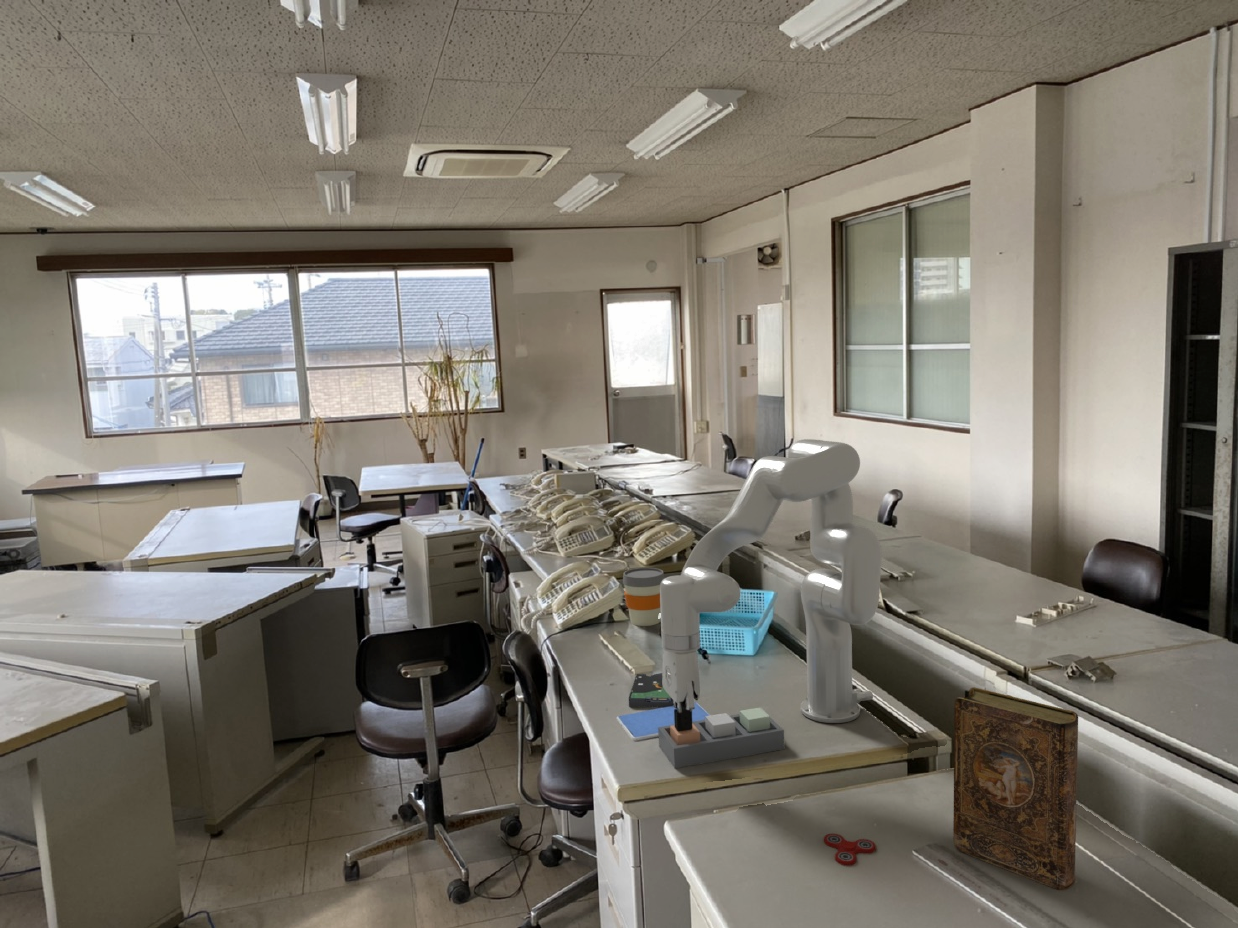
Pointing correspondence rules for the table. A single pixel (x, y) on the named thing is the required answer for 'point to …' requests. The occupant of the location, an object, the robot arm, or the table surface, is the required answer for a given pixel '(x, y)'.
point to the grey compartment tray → (721, 744)
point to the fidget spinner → (848, 848)
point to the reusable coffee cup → (643, 595)
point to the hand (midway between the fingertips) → (683, 728)
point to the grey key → (720, 725)
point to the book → (1016, 785)
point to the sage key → (754, 719)
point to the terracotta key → (685, 735)
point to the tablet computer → (653, 721)
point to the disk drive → (649, 692)
